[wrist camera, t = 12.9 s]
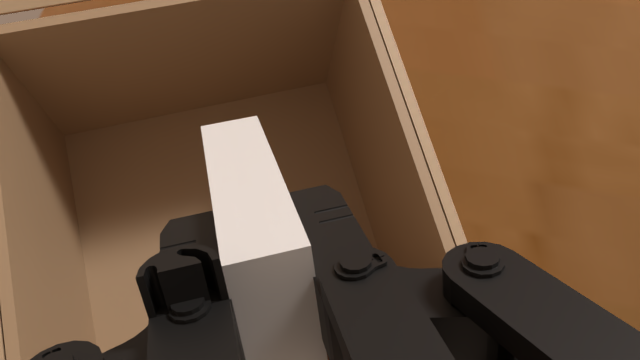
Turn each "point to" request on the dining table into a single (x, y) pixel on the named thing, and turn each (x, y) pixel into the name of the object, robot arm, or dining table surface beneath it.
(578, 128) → the dining table surface
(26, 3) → the carton flap
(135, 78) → the carton
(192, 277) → the robot arm
